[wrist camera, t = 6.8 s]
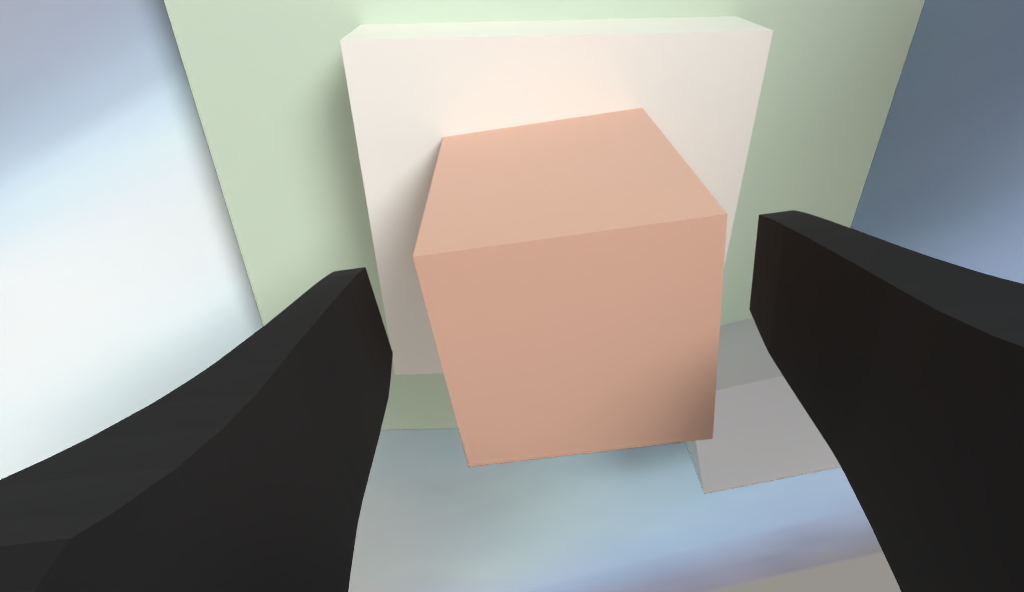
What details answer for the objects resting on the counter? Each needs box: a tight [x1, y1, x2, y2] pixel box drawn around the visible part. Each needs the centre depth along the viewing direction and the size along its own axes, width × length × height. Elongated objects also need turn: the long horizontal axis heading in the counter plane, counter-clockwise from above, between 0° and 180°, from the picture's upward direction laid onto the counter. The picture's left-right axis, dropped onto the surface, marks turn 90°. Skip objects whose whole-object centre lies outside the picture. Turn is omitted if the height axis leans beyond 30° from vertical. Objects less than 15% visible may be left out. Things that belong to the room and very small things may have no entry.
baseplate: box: [164, 0, 925, 430], centre depth 15 cm, size 16×16×1 cm
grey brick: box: [685, 318, 841, 494], centre depth 17 cm, size 4×4×2 cm
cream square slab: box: [340, 16, 773, 375], centre depth 14 cm, size 8×8×2 cm
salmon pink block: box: [413, 108, 727, 467], centre depth 11 cm, size 4×4×5 cm
